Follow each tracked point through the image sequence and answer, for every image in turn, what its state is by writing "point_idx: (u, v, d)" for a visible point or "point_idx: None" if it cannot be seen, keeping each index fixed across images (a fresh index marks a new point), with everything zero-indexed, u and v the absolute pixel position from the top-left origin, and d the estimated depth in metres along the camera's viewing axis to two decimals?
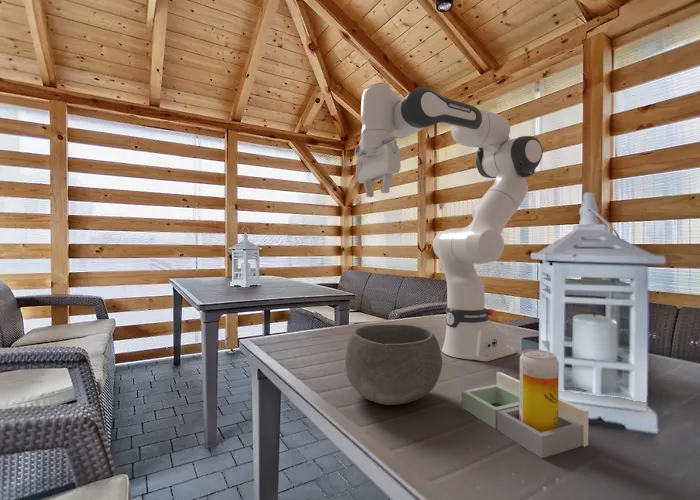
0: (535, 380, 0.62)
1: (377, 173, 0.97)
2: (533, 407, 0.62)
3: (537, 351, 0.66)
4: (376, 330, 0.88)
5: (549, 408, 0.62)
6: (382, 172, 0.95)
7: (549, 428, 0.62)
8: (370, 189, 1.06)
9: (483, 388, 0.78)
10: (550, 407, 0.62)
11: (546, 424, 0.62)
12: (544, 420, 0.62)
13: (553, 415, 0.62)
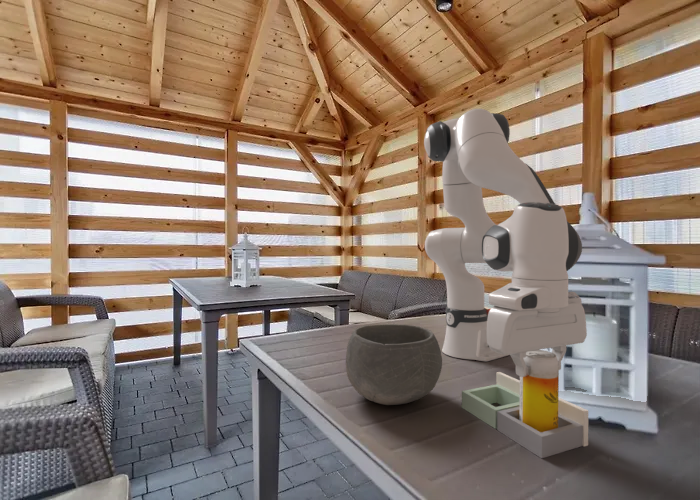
0: (535, 380, 0.62)
1: (563, 343, 0.64)
2: (533, 407, 0.62)
3: (537, 351, 0.66)
4: (376, 330, 0.88)
5: (550, 408, 0.62)
6: (573, 342, 0.65)
7: (549, 428, 0.62)
8: None
9: (483, 388, 0.78)
10: (550, 407, 0.62)
11: (547, 424, 0.62)
12: (544, 420, 0.62)
13: (553, 415, 0.62)
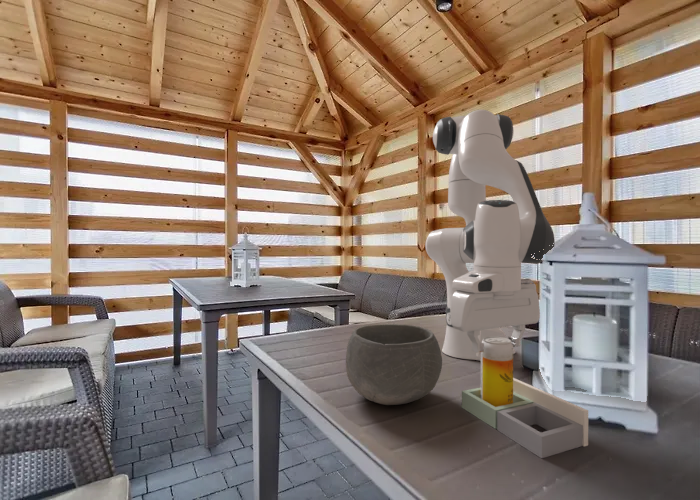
0: (492, 362, 0.71)
1: (517, 323, 0.73)
2: (491, 386, 0.72)
3: (496, 338, 0.76)
4: (376, 330, 0.88)
5: (504, 387, 0.71)
6: (527, 323, 0.75)
7: (504, 404, 0.71)
8: None
9: None
10: (505, 385, 0.71)
11: (502, 400, 0.71)
12: (500, 397, 0.71)
13: (508, 392, 0.71)
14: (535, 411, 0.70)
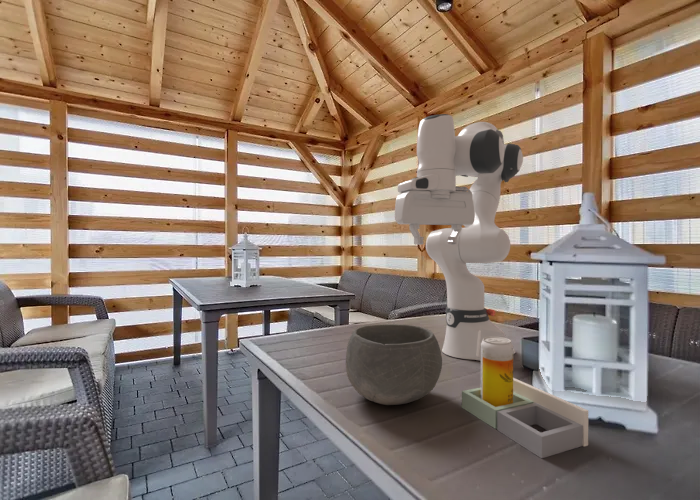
0: (492, 362, 0.71)
1: (454, 221, 0.85)
2: (491, 386, 0.72)
3: (496, 338, 0.76)
4: (376, 330, 0.88)
5: (504, 387, 0.71)
6: (463, 223, 0.87)
7: (504, 404, 0.71)
8: None
9: None
10: (505, 385, 0.71)
11: (502, 400, 0.71)
12: (500, 397, 0.71)
13: (508, 392, 0.71)
14: (535, 411, 0.70)
